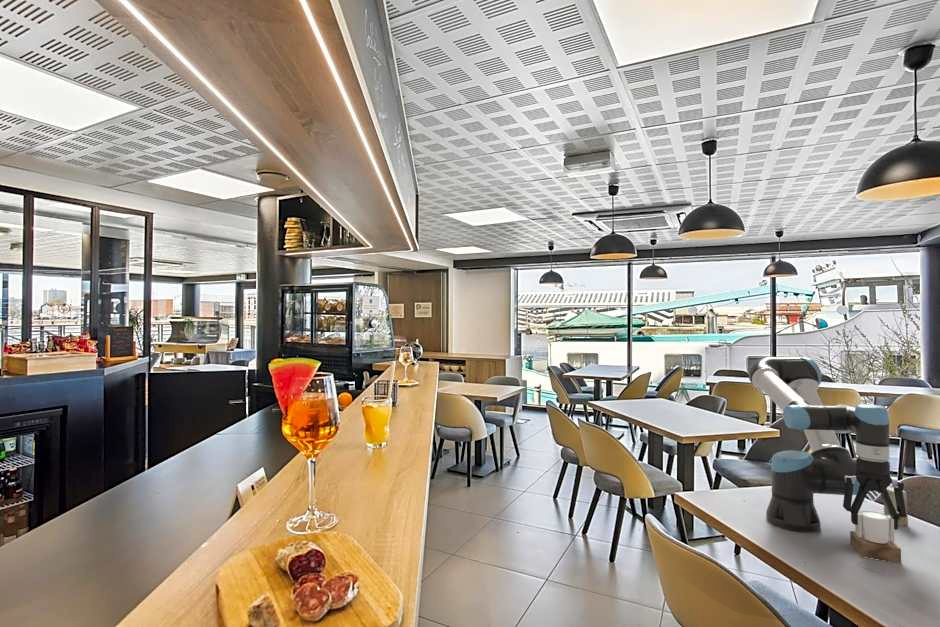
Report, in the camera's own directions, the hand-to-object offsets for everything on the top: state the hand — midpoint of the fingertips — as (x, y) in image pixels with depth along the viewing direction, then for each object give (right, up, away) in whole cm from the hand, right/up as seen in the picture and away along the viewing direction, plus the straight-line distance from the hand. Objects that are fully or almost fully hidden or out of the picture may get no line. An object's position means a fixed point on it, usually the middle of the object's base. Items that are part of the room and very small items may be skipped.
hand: (874, 537), depth 140 cm
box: (+25, -5, +21) cm, 33 cm away
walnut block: (0, -5, 0) cm, 5 cm away
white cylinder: (0, -1, 0) cm, 1 cm away
